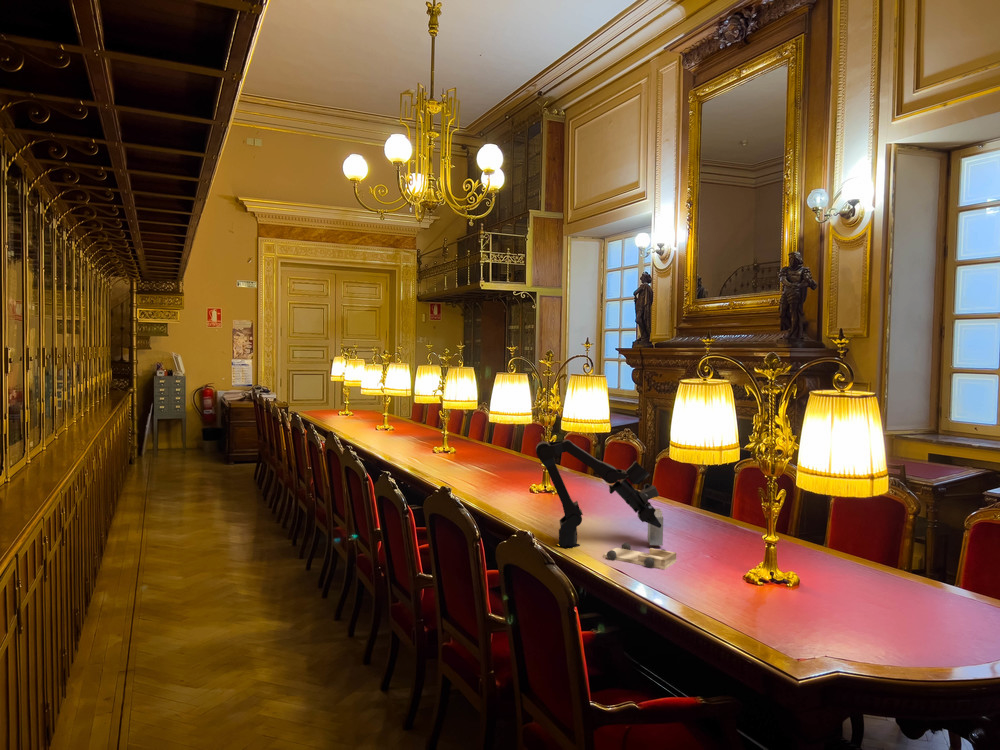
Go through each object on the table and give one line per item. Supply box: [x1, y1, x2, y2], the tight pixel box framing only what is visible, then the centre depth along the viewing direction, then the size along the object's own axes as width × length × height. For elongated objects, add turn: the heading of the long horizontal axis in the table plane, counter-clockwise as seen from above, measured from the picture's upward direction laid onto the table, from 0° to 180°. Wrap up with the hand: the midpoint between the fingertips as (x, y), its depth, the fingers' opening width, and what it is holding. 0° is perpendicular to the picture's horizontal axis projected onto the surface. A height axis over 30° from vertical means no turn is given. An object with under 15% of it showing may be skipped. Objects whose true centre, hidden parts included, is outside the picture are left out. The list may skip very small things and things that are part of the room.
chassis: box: [602, 542, 677, 570], centre depth 229 cm, size 22×13×3 cm, turn 54°
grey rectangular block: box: [646, 508, 664, 546], centre depth 243 cm, size 4×5×12 cm
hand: (659, 525), depth 243 cm, fingers closed on grey rectangular block, 5 cm apart
